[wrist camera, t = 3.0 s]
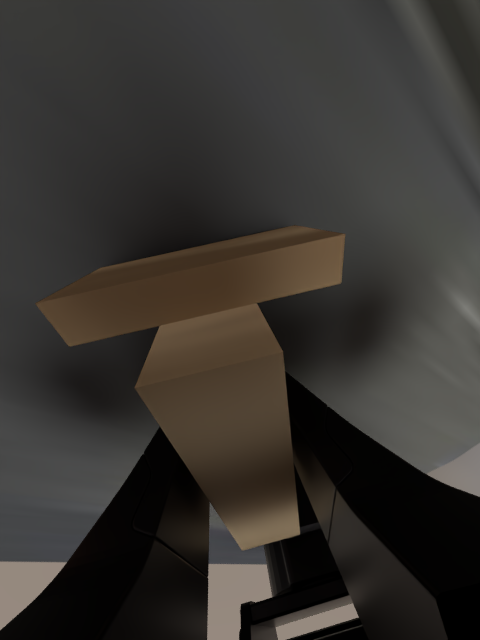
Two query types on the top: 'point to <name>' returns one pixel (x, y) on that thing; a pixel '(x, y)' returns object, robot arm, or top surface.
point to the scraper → (214, 360)
